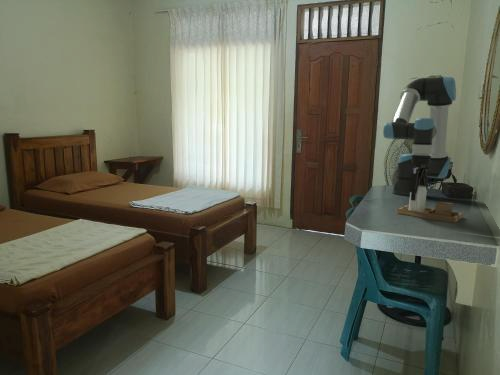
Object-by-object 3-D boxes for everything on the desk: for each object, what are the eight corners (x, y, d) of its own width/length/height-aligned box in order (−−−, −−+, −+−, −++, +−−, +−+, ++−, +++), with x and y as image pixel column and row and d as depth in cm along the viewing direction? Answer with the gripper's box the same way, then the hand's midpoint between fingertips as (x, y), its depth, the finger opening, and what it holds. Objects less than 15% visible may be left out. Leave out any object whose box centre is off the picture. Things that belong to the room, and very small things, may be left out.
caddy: (407, 210, 178) (407, 204, 178) (462, 219, 163) (462, 213, 163) (397, 214, 170) (397, 208, 169) (454, 224, 155) (455, 217, 154)
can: (425, 214, 166) (429, 187, 165) (409, 213, 167) (413, 185, 166) (422, 212, 173) (425, 185, 171) (406, 210, 174) (409, 184, 172)
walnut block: (436, 215, 167) (437, 201, 166) (451, 217, 164) (453, 203, 163) (434, 218, 162) (435, 203, 161) (450, 220, 159) (451, 205, 158)
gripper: (420, 152, 176) (416, 201, 180) (403, 155, 160) (398, 208, 164) (438, 153, 171) (433, 203, 175) (422, 156, 155) (417, 211, 159)
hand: (416, 205), depth 169 cm, fingers open, 9 cm apart
